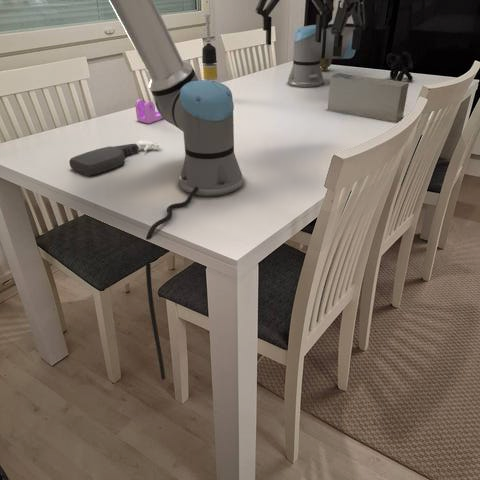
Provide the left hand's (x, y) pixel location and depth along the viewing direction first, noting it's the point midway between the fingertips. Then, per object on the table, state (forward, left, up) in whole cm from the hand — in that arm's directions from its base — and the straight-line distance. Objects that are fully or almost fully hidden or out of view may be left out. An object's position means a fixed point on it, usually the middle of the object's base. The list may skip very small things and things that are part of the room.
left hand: (293, 43), depth 119 cm
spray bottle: (-26, +43, -28) cm, 57 cm away
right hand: (+41, -9, -9) cm, 43 cm away
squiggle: (+94, -27, -28) cm, 102 cm away
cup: (+106, +9, -28) cm, 110 cm away
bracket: (+12, +51, -28) cm, 60 cm away
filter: (+41, +43, -28) cm, 66 cm away
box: (+38, -18, -28) cm, 50 cm away
